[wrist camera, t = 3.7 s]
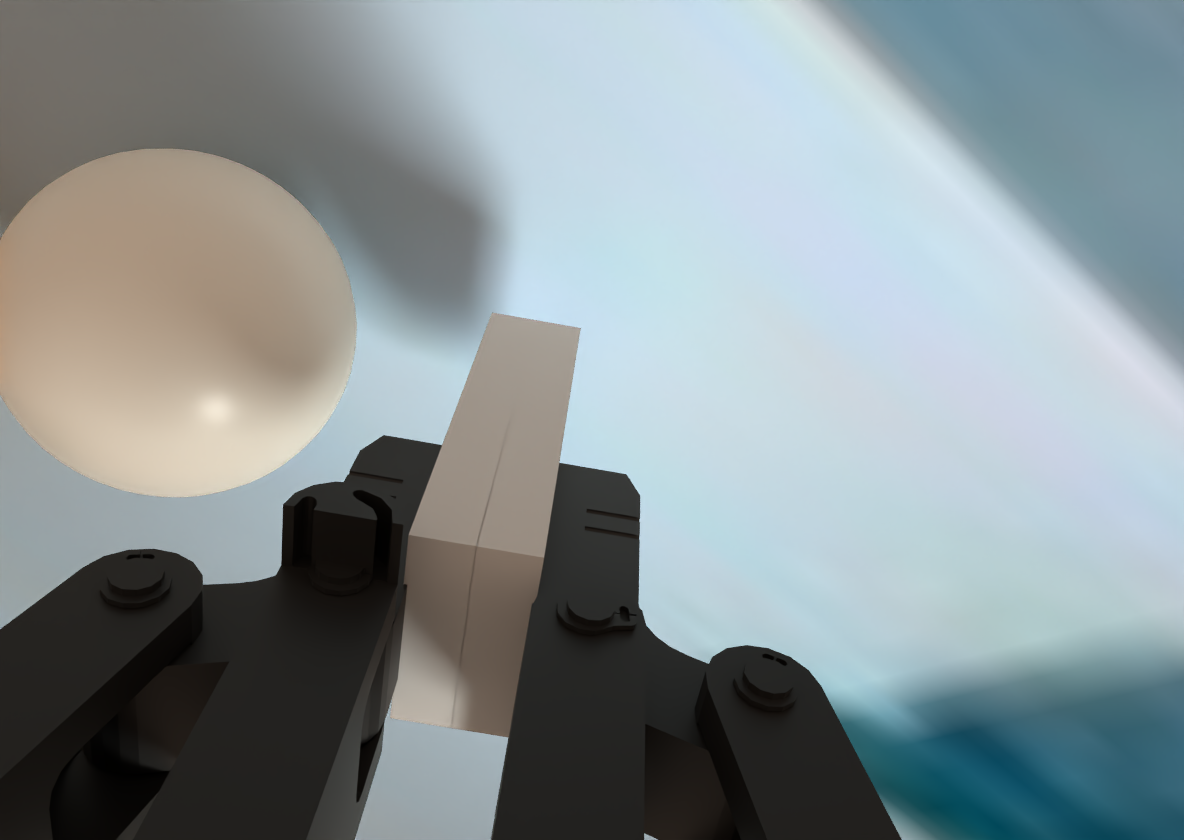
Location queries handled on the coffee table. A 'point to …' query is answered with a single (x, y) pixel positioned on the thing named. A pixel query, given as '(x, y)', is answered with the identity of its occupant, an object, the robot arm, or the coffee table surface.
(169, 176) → the cue ball
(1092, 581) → the coffee table surface
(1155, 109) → the coffee table surface
